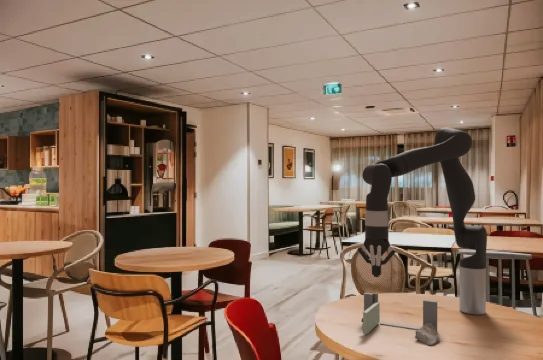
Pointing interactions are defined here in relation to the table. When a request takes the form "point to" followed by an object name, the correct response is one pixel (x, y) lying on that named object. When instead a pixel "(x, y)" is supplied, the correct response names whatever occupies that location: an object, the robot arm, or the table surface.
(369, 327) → the door
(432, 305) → the door frame
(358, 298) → the table surface
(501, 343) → the table surface
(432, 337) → the stone
